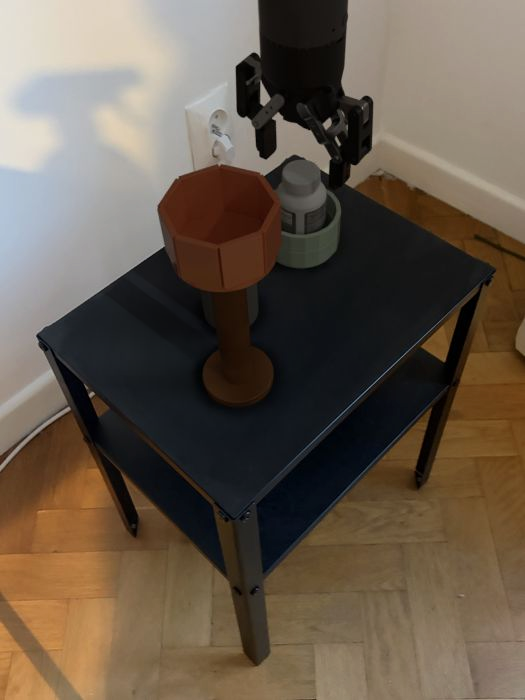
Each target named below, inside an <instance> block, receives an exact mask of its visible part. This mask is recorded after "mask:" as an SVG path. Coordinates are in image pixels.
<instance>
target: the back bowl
mask: <svg viewBox="0 0 525 700" xmlns="http://www.w3.org/2000/svg"><path fill="white" fill-rule="evenodd" d="M325 189H326V195H327V198H326V220H325V228H324V229H322V230H320V231H318V232H316V233H311V234H306V235H300V234H290V233H287V232H284V231H281V237H282V245H281V247H280V249H279V251H278V256H277V260H276V262H277V263H278V264H279V265H282V266H284V267H287V268H292V269H309V268H314V267H317V266H319V265H322V264H323V263H326V262H327V261H328V260H329V259H331V257H332V256H333V255H334V254H335V252H337V250H338V246H339V243H340V234H341V222H342V221H341V219H342V209H341V202H340V201H339V199H338V197H336V195H335V194H334V193H333V192H332V191H331V190H329V189H327V188H326V187H325ZM273 190H274V192H275V193H276V191H277V188H275V189H273ZM276 262H275V263H276Z"/></svg>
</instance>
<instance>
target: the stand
mask: <svg viewBox="0 0 525 700" xmlns="http://www.w3.org/2000/svg"><path fill="white" fill-rule="evenodd" d="M211 296H212V303H213V310H214V317H215V324H216V329H215V331H216V338H217V343H218V345H217V346H218V349H216V350H215V351H213V353H212V354H210V355H209V357H208V358H207V359H206V361H205V363H204V365H203V368H202V382H203V387H204V390H205V392H206V393H207V395H208V396H209V397H210V398H211V399H212V400H213V401H215V402H216V403H218V404H219V405H222V406H225V407H229V408H246V407H249V406H252V405H255V404H257V403H259V402H260V401H262V400H263V399H264V398H265V397H266V396H267V395H268V393H269V392H270V391H271V389H272V387H273V383H274V365H273V363H272V361H271V359H270V358H269V356H268V355H267V354H266V353H265V352H264V351H263V350H262V349H260V348H258V347H256V346H253V345H252V342H251V330H250V326H249V317H248V305H247V293H246V288H244V289H240V290H236V291H231V292H211Z"/></svg>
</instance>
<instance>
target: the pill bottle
mask: <svg viewBox="0 0 525 700" xmlns="http://www.w3.org/2000/svg"><path fill="white" fill-rule="evenodd" d="M281 180H282V181H281V182H280V183H279V184H278V186H277V188H276V189H277V191H276V194H277V196H278V197H279V199H280V200H281V231H284V232H287V233H290V234H300V235H306V234H311V233H316V232H318V231H320V230H322V229H324V228H325V220H326V198H327V195H326V189H327V188H326V187H325V184H324V183H323V182H322V178H321V169H320V167H319V166H318V164H317V163H315V162H314V161H311V160H308V159H295V160H292V161H290V162H287V164H285V166H283V169H282V173H281ZM325 188H326V189H325Z"/></svg>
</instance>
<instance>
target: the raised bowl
mask: <svg viewBox="0 0 525 700" xmlns="http://www.w3.org/2000/svg"><path fill="white" fill-rule="evenodd" d="M268 181H269V180H267V178H266V177H265V175H264V174H262V173H261V172H258V171H254V170H252V169H251V170H250V169H245V168H242V167H236V166H232V165H228V164H225V163H220V165H219V163H216V164H213V165H209V166H207V167H204V168H203V167H202V168H200V169H198V170H194V171H191V172H187V173H185V174H182V175H178V178H177V177H176V178H175V179H174V180H173V182H171V185H170V186H169V188H168V189H167V191H165V193H164V195H163V197H162V198H161V200H160V201H159V203H157V205H156V207H157V209H156V210H157V216H158V221H159V225H160V230H161V235H162V241H163V244H164V250H165V252H166V254H167V256H168V258H169V259H170V264H171V266H172V269H173V271H174V272H175V274H176V275H177V276H178V277H179V278H180V279H181V280H182V281H183V282H185V283H186V284H188V285H190V286H191V287H194V288H196V289H199V290H200V289H201V290H205V291H211V292H231V291H236V290H240V289H244V288H246V287H249V286H251V285H253V284H255V283H257V284H258V282H259V281H262V280H263V279H264V278H265V277H266V276H267V275H268V274H269V273H270V272H271V271H272V269H273V268H274V266H275V264H276V260H277V256H278V251H279V249H280V247H281V245H282V237H281V200H280V199H279V197H278V196H277V194H276V193H275V192H274V190H275V189H274V188H273V187H272V186H271V184H270V182H268Z"/></svg>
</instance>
